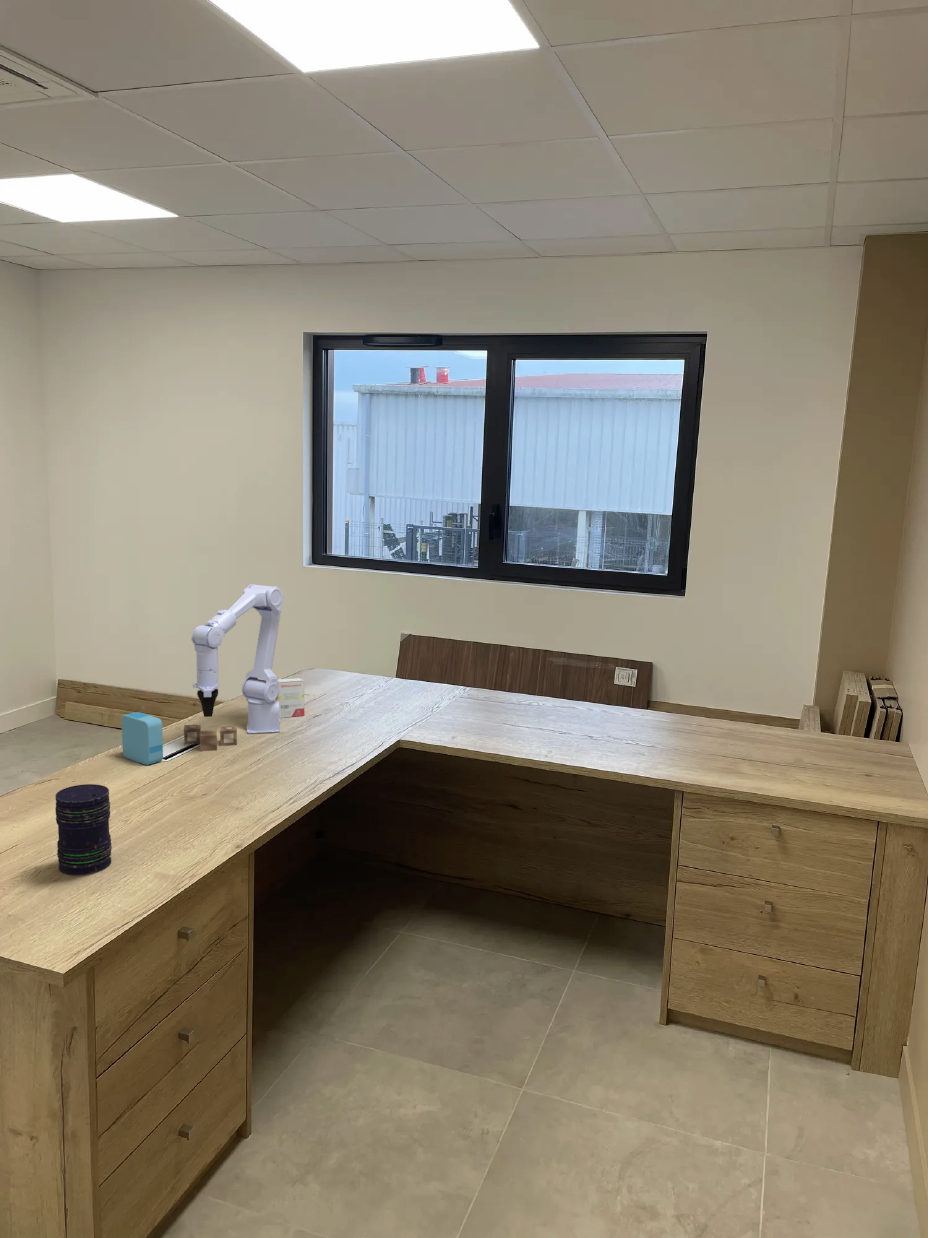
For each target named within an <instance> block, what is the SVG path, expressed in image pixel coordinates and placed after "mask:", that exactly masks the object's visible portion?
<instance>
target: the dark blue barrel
mask: <svg viewBox="0 0 928 1238" xmlns="http://www.w3.org/2000/svg"><path fill="white" fill-rule="evenodd" d="M54 797H55V816H56V817H55V821H56V825H57V831H58V834H57V835H58V840H57V842H56V845H57V846H56V847H57V851H56V855H57V861H58V871H59V872H60V873H62V874H63V875H66V876H73V877H74V876H77V877H79V876H87V875H88V876H89V875H92V874H95V873H96V874H97V873H100V872H102V871H104V870H106V869H107V868H109V867H110V866H111V865H112V857H111V856H112V850H113V849H112V847H113V846H112V835H111V834H110V818H111V802H110V789H109V787H108V786H105V785H103V784H102V785H101V784H93V783H90V784H89V783H87V784H77V785H73V786H68V787H65V788H62V789H61V790H58V791H57V792H56V794H55V796H54Z"/></svg>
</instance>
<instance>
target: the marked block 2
mask: <svg viewBox="0 0 928 1238" xmlns="http://www.w3.org/2000/svg"><path fill="white" fill-rule="evenodd" d="M219 730H220V731H219V732H220V734H219V735H220V737H219V738H220V747H221V746H222V747H223V746H225V747H226V746H227V747H229V746H238V737H237V733H238V732H237V725H225V726H224V725H223V726H220V728H219Z"/></svg>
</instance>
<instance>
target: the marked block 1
mask: <svg viewBox="0 0 928 1238" xmlns="http://www.w3.org/2000/svg"><path fill="white" fill-rule="evenodd" d="M201 726H202V725H201V724H184V726H183V744H184V745H200V731H202V729H201Z"/></svg>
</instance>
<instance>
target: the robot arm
mask: <svg viewBox="0 0 928 1238" xmlns="http://www.w3.org/2000/svg"><path fill="white" fill-rule="evenodd" d="M283 603H284V594H283V592H282V590H281V589H280V588H279V586H274V585H273V586H271V585H269V586H268V585H261V584H260V585H259V584H255V583H250V584H249V585H248V586H247V587H246V588H244V589H243V592H242V595H241V596H240V597H239V598H238V599H237V601H235V602H234V604H233V605H231V606H230V607H229V608H228V609H220V610H218V611H217V612H216V615H214V616H213V617H212V618H210V619H209V620H207V622H206V623H205V624H204V625H202V624H201V625H198V626H197V627H196V628H195V629H194V630H193V631H192V635H191V636H190V638H191V642H192V644H193V646H194V651H195V653H196V683H192V688H195V689H198V690H197V692H196V696H197V698H198V700H199V702H200V704H201V708H202V714H203V716H204V718H208V717H209V718H210V717H213V714H214V708H215V704H216V703H215V702H216V699H217V698H218V696H219V689H218V688H219V687H220V683H219V648H218V647H219V646H221V644H222V642H223V640H224V639H223V638H224V637H225V636H226V634H228V632H230V631H231V630H232V629H233V628H234V627H235V626H237V619H238V618H240V617H241V616H242V615H244V614H245V613H247V612H248V611H249V610H250V609H252V608H253V609H254V610H255V611H256V612H258V614H259V615H260V616H261V619H260V625H259V633H258V638H257V645H256V651H255V657H254V664H253V668H252V669H251V670H249V671H247V672H246V674H245V679H244V681H243V682H242V684H241V685H242V687H241V693H242V695H243V697H244V698H245V700H246V702H247V724H246V726H245V727H246V733H247V734H262V733H279V732H280V725H281V718H279V701H275V699H276V697H277V695H278V679H279V678H278V676H277V675H276V674H275V673H274V671H273V670H272V669H273V665H274V664H273V663H274V660H275V659H274V657H275V652H276V645H277V638H278V634H279V633H278V632H279V626H280V621H281V619H280V618H281V613H282V609H283V608H282V607H283Z"/></svg>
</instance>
